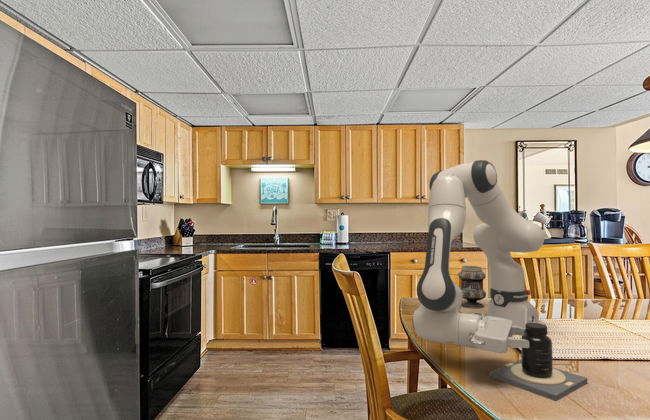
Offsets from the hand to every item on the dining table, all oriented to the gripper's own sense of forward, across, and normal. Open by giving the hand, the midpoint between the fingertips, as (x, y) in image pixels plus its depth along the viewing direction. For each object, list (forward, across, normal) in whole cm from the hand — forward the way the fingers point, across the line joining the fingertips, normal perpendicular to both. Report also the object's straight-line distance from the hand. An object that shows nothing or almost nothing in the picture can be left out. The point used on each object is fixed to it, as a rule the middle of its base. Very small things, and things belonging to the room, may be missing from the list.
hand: (530, 338), depth 97 cm
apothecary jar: (-27, +76, +10) cm, 81 cm away
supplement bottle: (+1, -1, +8) cm, 9 cm away
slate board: (+1, 0, +10) cm, 10 cm away
